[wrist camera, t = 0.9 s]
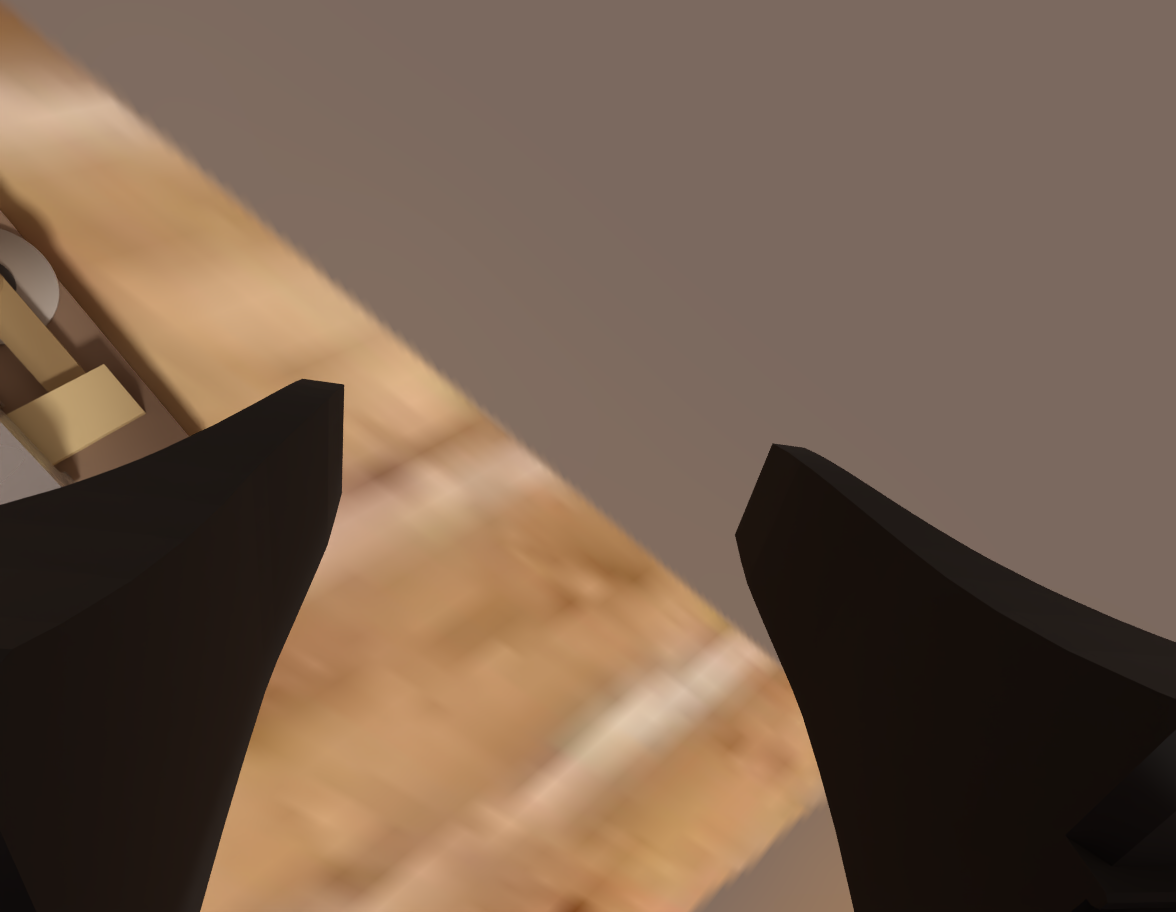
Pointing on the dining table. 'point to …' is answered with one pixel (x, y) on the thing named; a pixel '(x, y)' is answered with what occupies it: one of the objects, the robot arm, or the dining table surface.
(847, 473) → the robot arm
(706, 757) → the dining table surface
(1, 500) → the sliding leg
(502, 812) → the dining table surface
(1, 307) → the wooden mechanism board
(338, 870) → the dining table surface
